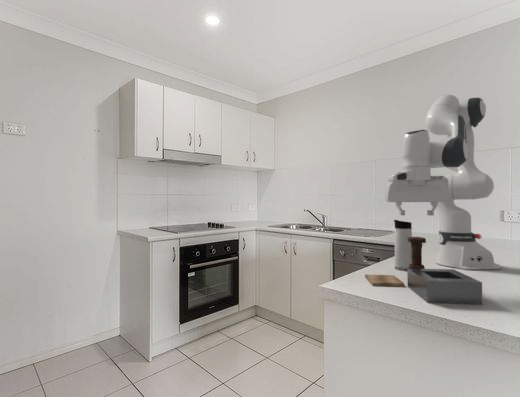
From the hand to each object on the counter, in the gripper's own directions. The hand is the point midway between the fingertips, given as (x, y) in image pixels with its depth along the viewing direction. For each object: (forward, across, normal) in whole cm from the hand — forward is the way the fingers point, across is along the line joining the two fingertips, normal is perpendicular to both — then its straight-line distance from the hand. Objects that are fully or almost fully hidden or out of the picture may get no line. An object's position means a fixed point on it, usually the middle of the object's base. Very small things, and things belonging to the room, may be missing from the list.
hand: (416, 215), depth 99 cm
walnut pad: (+23, +12, +3) cm, 26 cm away
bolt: (+23, 0, 0) cm, 23 cm away
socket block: (+23, -1, +15) cm, 27 cm away
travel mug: (+23, -1, -16) cm, 28 cm away
